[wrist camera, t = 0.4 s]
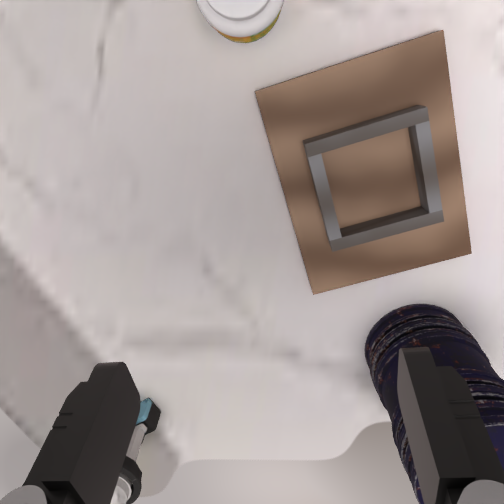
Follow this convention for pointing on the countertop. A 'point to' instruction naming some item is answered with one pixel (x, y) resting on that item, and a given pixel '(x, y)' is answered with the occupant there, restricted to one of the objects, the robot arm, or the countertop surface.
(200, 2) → the supplement bottle
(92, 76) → the countertop surface
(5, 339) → the countertop surface
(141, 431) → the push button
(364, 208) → the dock board
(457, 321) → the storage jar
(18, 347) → the countertop surface
